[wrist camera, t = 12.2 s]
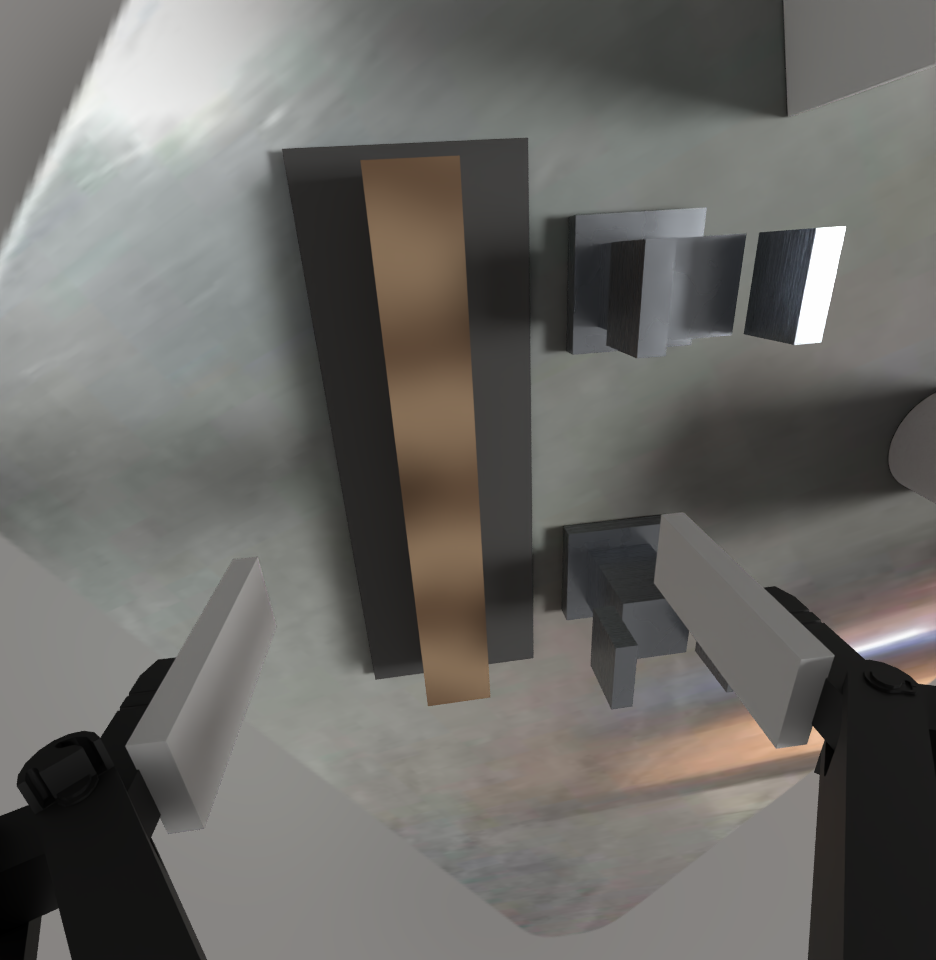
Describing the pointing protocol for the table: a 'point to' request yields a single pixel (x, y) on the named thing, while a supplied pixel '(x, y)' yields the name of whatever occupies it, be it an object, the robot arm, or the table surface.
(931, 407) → the coffee cup
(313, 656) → the table surface
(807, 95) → the milk
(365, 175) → the rail
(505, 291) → the mat
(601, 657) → the post
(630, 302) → the post
